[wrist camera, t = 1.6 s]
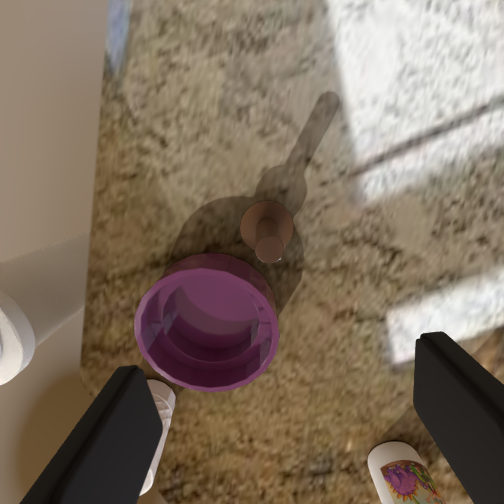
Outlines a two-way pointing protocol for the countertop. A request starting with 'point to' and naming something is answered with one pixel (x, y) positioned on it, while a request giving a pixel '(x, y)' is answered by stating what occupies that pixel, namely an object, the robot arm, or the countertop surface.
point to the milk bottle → (401, 475)
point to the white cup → (165, 408)
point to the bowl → (208, 323)
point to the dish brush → (266, 230)
